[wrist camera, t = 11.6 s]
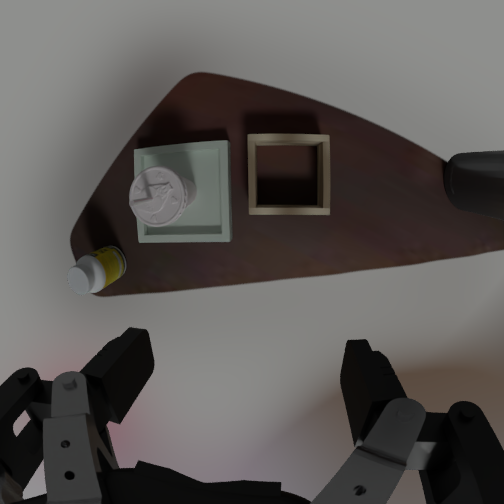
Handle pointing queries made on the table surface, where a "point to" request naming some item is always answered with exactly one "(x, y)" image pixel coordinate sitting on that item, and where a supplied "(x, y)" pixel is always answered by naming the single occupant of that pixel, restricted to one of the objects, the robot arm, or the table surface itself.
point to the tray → (208, 191)
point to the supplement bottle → (96, 270)
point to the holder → (322, 173)
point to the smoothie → (160, 195)
